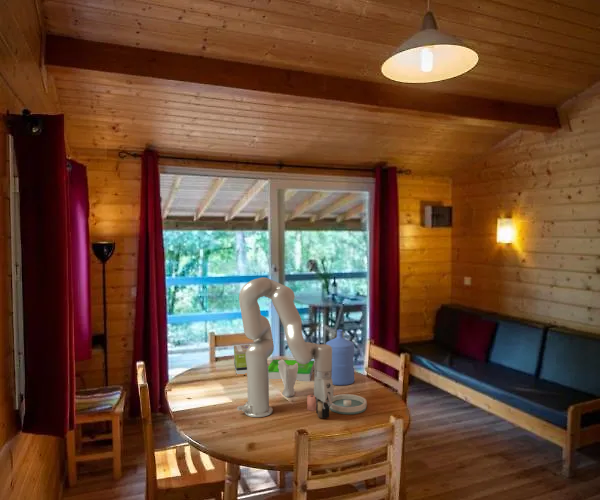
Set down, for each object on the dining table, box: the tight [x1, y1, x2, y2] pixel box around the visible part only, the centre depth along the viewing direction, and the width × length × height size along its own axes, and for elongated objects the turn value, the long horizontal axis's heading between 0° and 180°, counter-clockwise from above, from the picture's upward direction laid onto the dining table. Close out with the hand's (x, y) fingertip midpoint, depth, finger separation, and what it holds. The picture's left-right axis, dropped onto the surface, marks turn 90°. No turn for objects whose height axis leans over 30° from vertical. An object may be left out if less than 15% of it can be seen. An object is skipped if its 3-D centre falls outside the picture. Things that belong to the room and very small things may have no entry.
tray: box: [268, 359, 315, 382], centre depth 260 cm, size 25×25×5 cm
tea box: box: [233, 343, 251, 374], centre depth 263 cm, size 15×10×15 cm, turn 14°
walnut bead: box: [317, 401, 328, 419], centre depth 196 cm, size 4×4×6 cm
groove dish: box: [329, 393, 368, 416], centre depth 208 cm, size 17×17×3 cm
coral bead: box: [306, 394, 316, 412], centre depth 206 cm, size 4×4×6 cm
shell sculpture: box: [278, 359, 298, 398], centre depth 224 cm, size 8×8×18 cm
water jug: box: [325, 328, 355, 386], centre depth 245 cm, size 16×16×28 cm
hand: (322, 414), depth 197 cm, fingers closed on walnut bead, 4 cm apart
